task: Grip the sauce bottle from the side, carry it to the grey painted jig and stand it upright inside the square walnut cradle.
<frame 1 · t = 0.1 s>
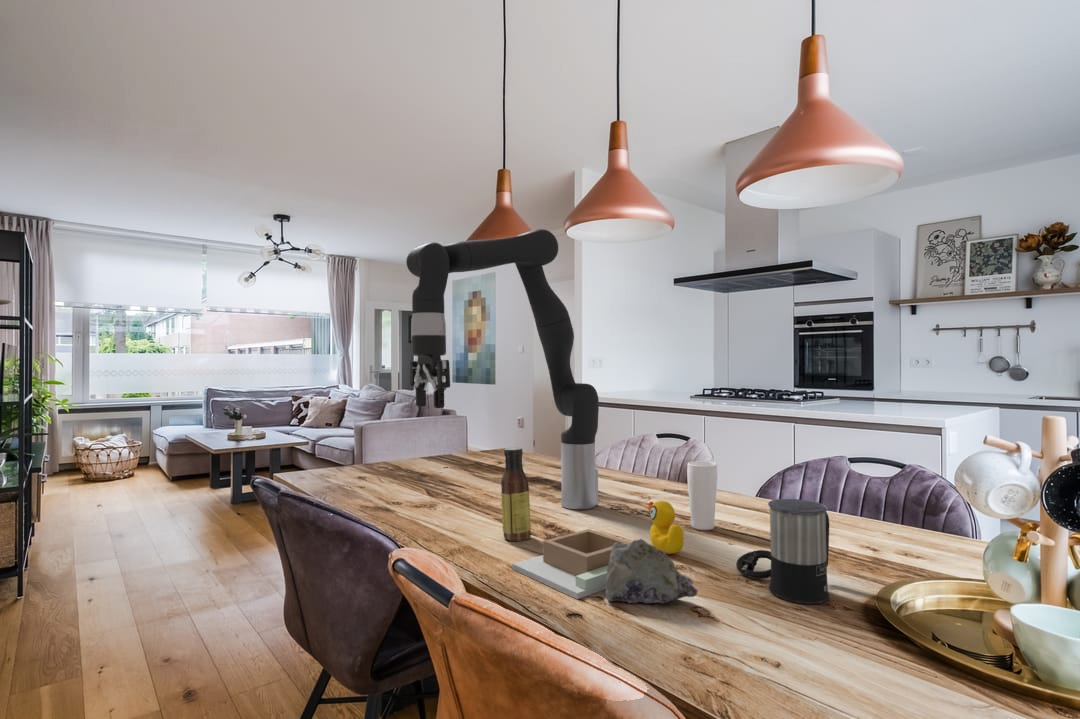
hand: (429, 407, 126), 29 cm above the table, tool pointing down, fingers open, 8 cm apart
milk frother: (779, 586, 98), on the table
mineral rock: (647, 604, 91), on the table
white tumbler: (702, 528, 133), on the table
duckling: (665, 552, 116), on the table
sauce bottle: (516, 538, 126), on the table
jig: (587, 568, 107), on the table
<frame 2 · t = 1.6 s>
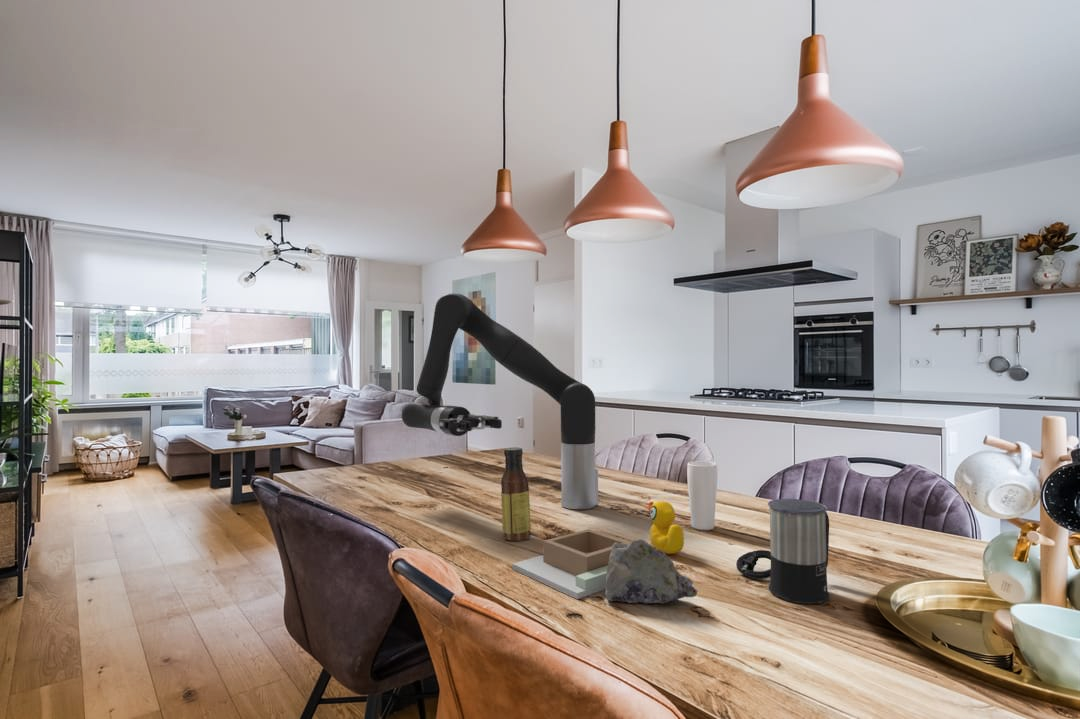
hand: (485, 425, 135), 24 cm above the table, tool horizontal, fingers open, 8 cm apart
nothing on the table moved.
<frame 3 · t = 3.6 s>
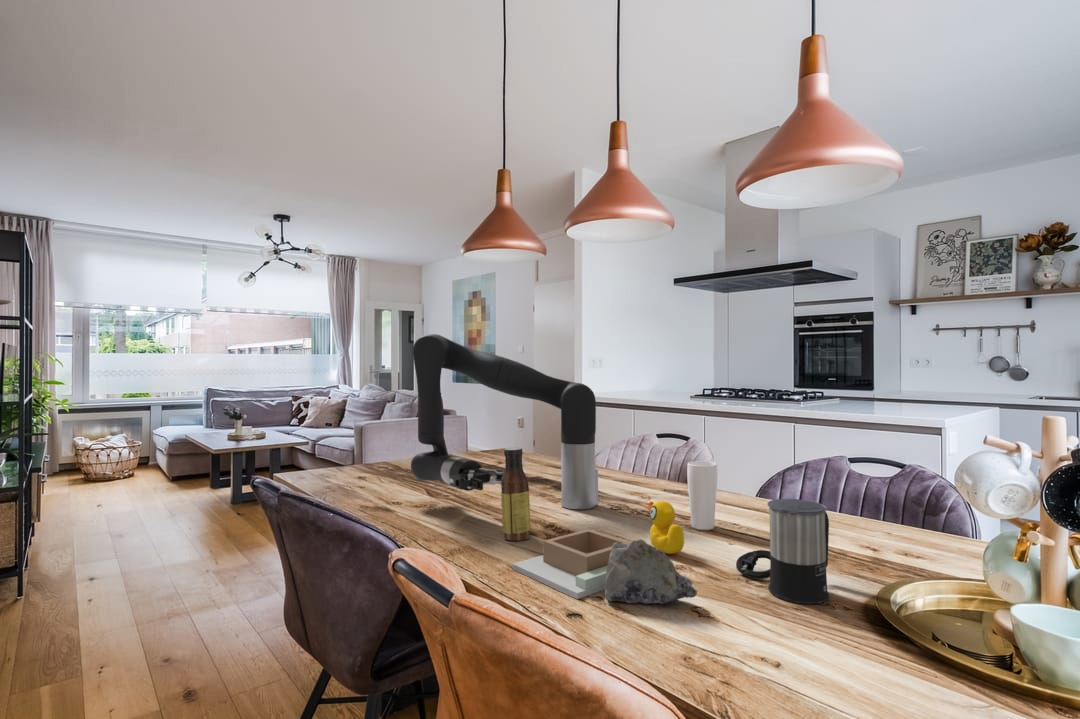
hand: (497, 483, 131), 11 cm above the table, tool horizontal, fingers open, 8 cm apart
nothing on the table moved.
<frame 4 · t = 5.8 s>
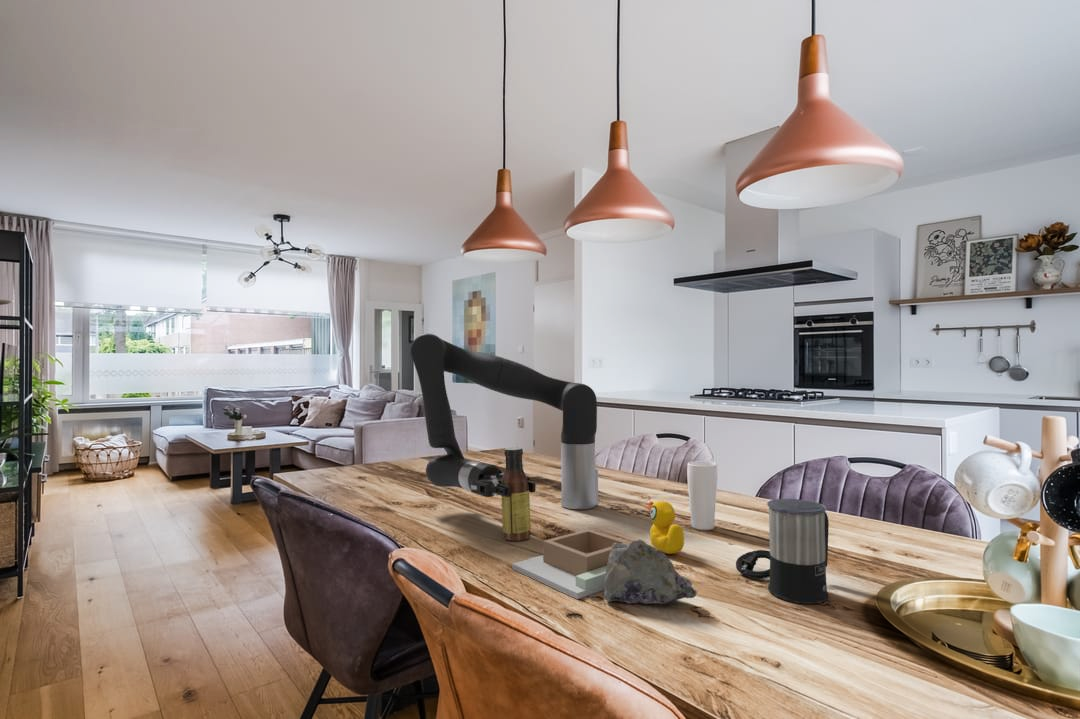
hand: (521, 489, 124), 11 cm above the table, tool horizontal, fingers closed on sauce bottle, 6 cm apart
sauce bottle: (516, 538, 126), on the table, touching gripper
everything else where it was.
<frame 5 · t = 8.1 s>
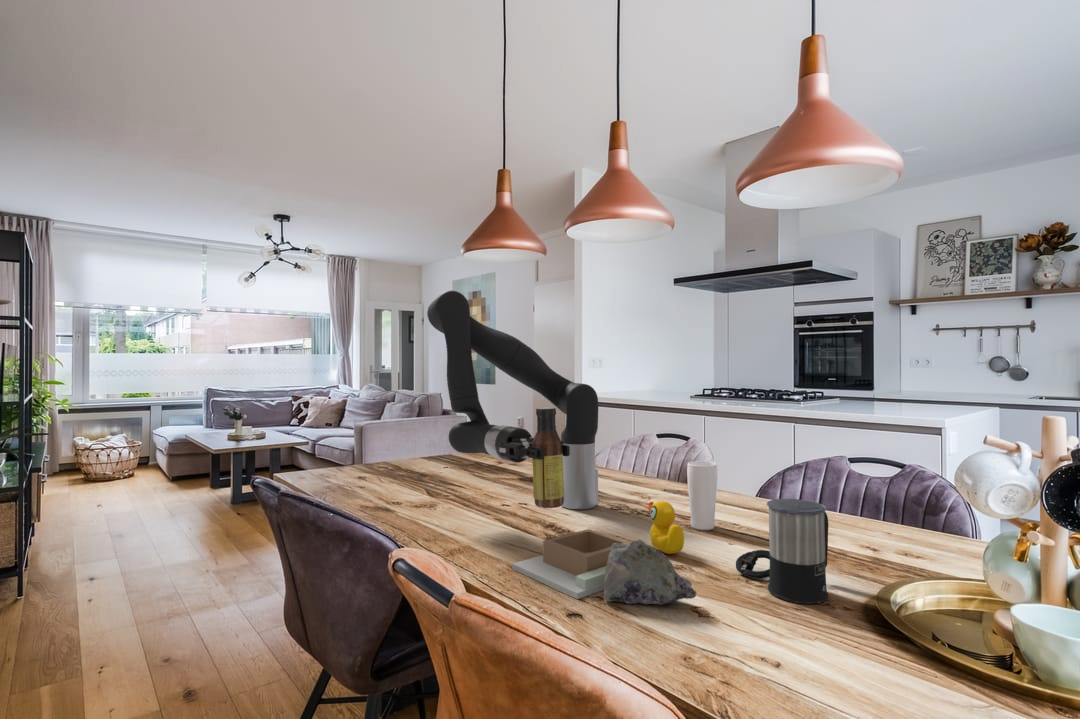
hand: (555, 452, 113), 21 cm above the table, tool horizontal, fingers closed on sauce bottle, 6 cm apart
sauce bottle: (548, 506, 115), point 10 cm above the table, touching gripper
everything else where it was.
when the fingers open (13 cm above the table, at t = 10.7 s): sauce bottle drops 1 cm, resting on jig.
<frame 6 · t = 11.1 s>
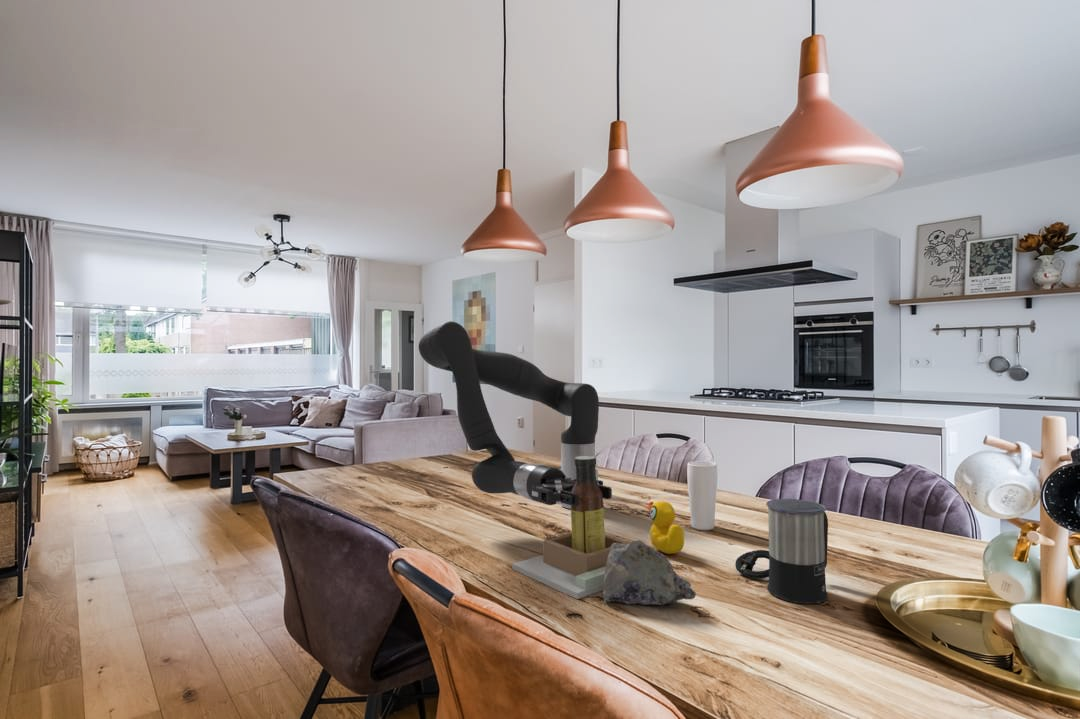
hand: (594, 496, 105), 14 cm above the table, tool horizontal, fingers open, 8 cm apart
sauce bottle: (588, 563, 107), point 1 cm above the table, touching jig
everything else where it was.
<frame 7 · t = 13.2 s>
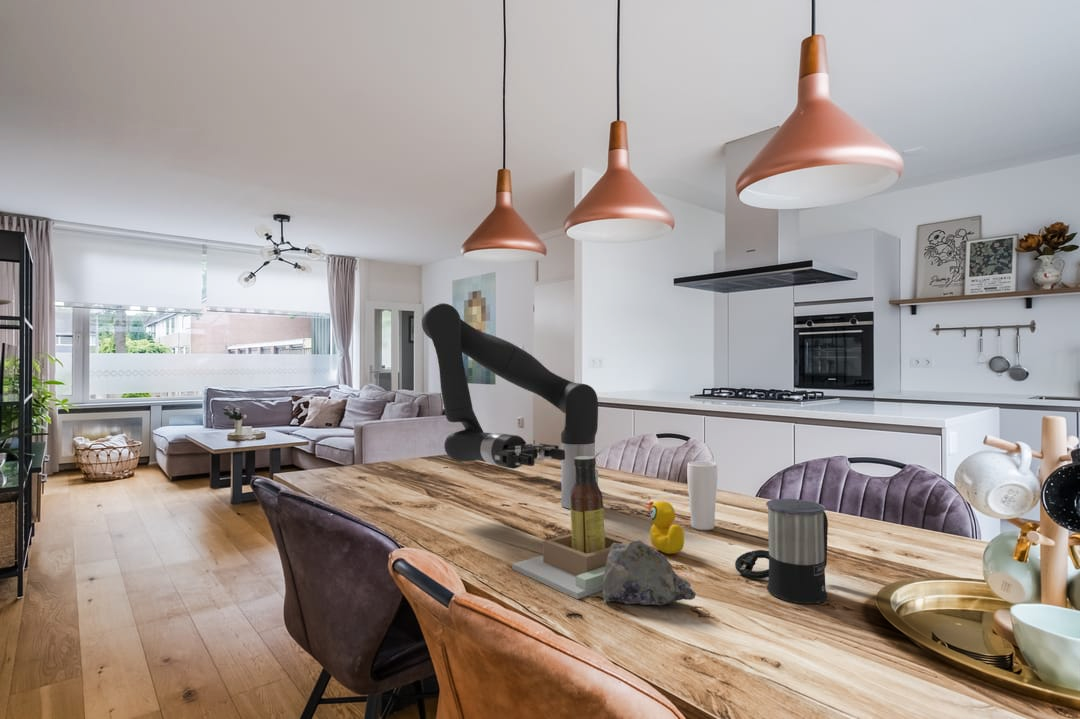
hand: (548, 457, 120), 19 cm above the table, tool horizontal, fingers open, 8 cm apart
nothing on the table moved.
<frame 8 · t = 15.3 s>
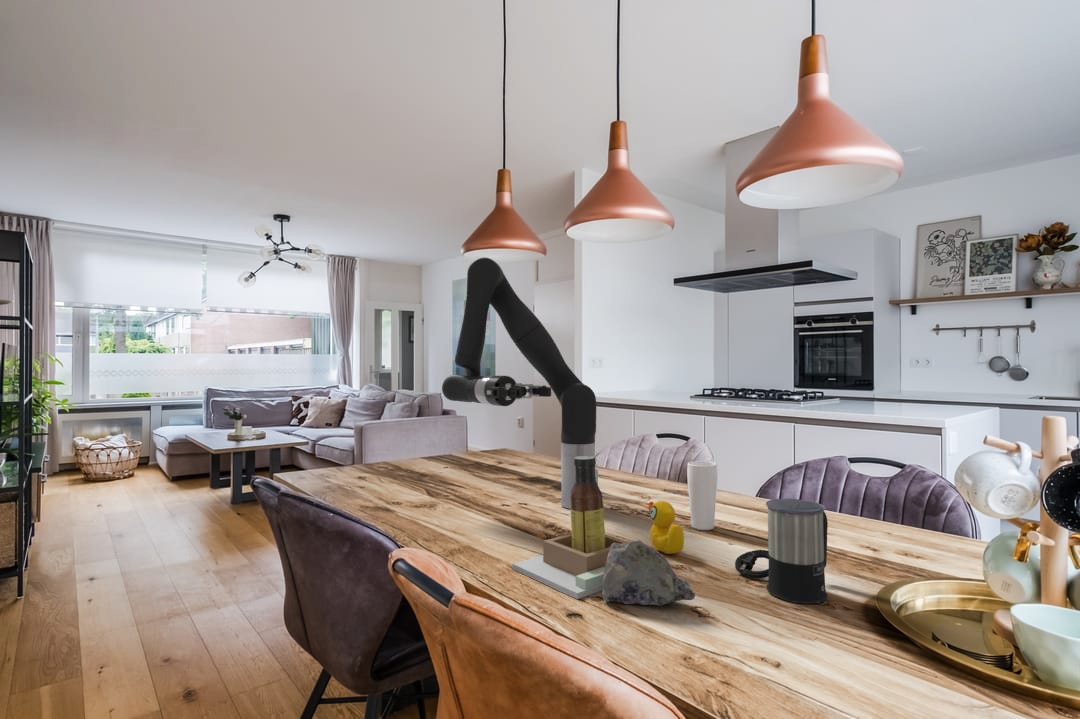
hand: (535, 392, 130), 32 cm above the table, tool horizontal, fingers open, 8 cm apart
nothing on the table moved.
at the end: sauce bottle inside the target area on the jig (0.4 cm from its centre), point 0.8 cm above the jig's base; sauce bottle tilted 0°; the gripper is holding nothing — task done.
